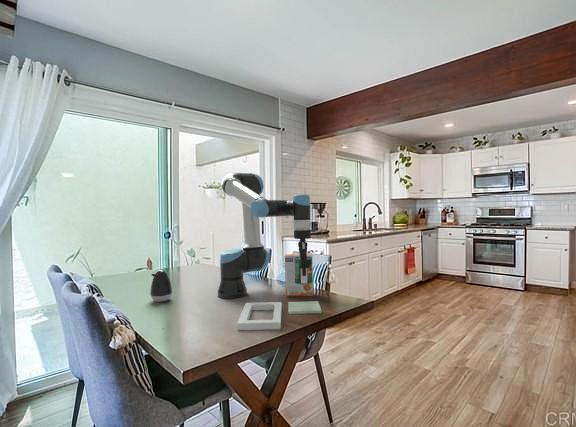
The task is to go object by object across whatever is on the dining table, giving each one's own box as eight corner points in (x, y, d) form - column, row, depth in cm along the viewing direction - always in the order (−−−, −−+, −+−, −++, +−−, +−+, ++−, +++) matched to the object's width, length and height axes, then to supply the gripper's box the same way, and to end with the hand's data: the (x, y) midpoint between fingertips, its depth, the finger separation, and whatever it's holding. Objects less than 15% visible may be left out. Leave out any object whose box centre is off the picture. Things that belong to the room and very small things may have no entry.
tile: (288, 313, 136) (288, 311, 136) (288, 304, 150) (288, 301, 150) (321, 313, 136) (321, 310, 136) (318, 303, 150) (318, 301, 150)
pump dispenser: (145, 302, 158) (144, 271, 158) (162, 297, 167) (161, 267, 167) (160, 304, 153) (159, 273, 153) (176, 299, 162) (176, 269, 162)
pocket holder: (237, 330, 118) (237, 323, 118) (245, 308, 144) (245, 302, 144) (280, 329, 119) (280, 322, 118) (281, 307, 145) (281, 302, 144)
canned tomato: (307, 285, 137) (306, 259, 137) (291, 283, 141) (290, 258, 141) (315, 281, 144) (315, 257, 144) (300, 279, 148) (299, 256, 148)
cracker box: (313, 293, 167) (312, 253, 167) (313, 296, 161) (312, 255, 161) (286, 293, 168) (285, 253, 168) (285, 296, 162) (284, 255, 162)
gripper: (312, 230, 132) (314, 286, 132) (309, 228, 153) (310, 275, 153) (294, 231, 132) (295, 286, 132) (293, 228, 152) (294, 276, 153)
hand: (303, 280), depth 142 cm, fingers closed on canned tomato, 8 cm apart
